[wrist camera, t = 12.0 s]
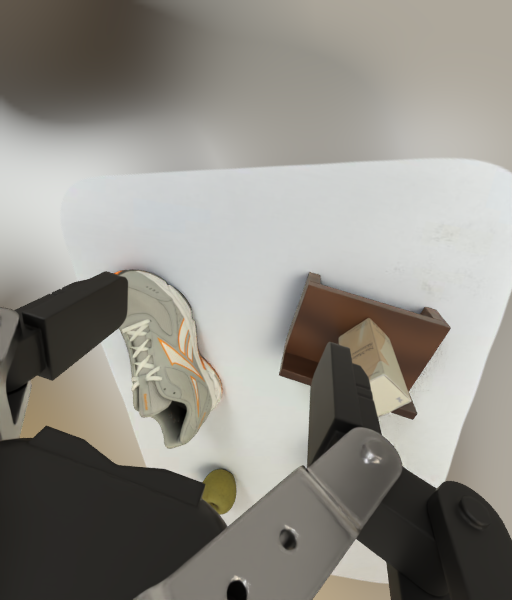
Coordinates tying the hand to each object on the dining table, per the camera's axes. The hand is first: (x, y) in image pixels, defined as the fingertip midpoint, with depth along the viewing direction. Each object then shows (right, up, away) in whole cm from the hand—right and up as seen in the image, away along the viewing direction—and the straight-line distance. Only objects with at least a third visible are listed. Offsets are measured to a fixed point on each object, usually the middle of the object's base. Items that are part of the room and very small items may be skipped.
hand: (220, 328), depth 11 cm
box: (+16, -4, +27) cm, 31 cm away
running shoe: (-12, -6, +39) cm, 42 cm away
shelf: (+16, -3, +32) cm, 35 cm away
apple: (-6, -38, +53) cm, 65 cm away
